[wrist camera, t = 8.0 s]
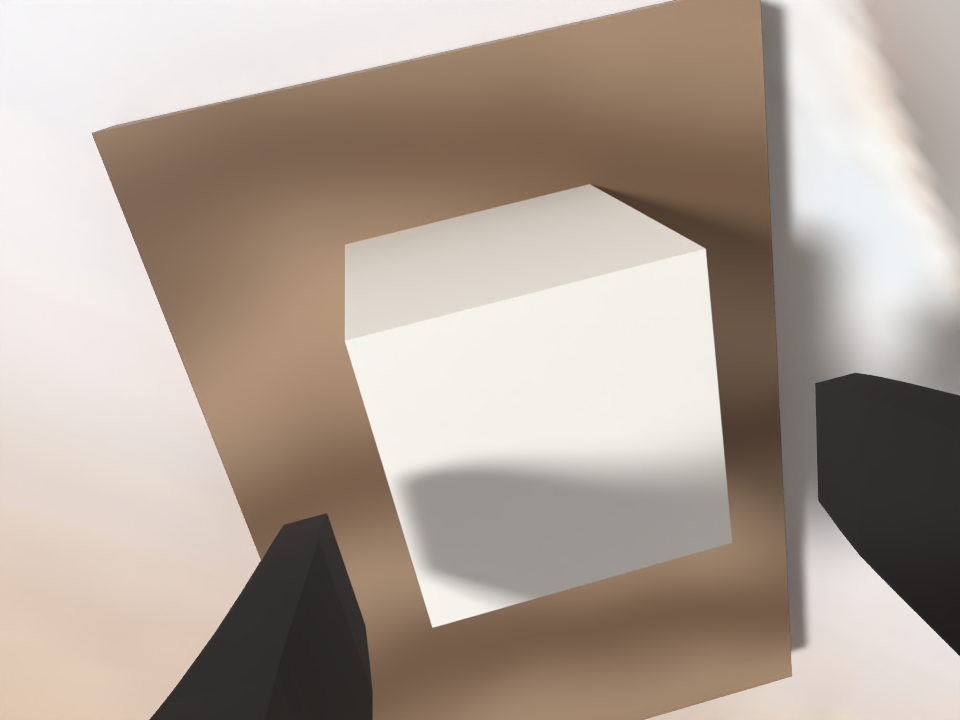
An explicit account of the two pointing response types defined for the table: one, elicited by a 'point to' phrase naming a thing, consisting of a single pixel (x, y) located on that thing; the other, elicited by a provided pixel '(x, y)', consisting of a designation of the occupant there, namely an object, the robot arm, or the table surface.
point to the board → (444, 195)
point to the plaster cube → (540, 396)
